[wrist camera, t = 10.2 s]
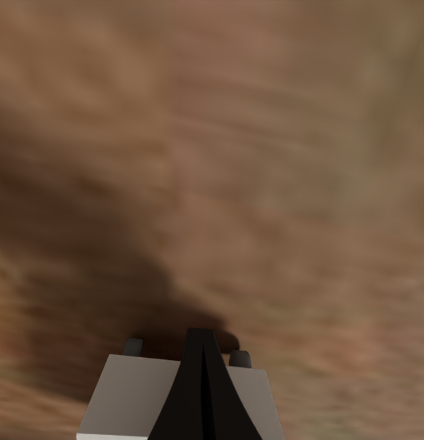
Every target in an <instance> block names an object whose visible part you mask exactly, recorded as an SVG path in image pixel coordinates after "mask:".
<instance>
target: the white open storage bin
mask: <svg viewBox="0 0 424 440" xmlns="http://www.w3.org/2000/svg"><path fill="white" fill-rule="evenodd" d="M142 345H143V339H134V338H128V339H127V342H126V344H125V347H124V350H123V353H122V355H113V354H109V357H108V359H107V361H106V364H105V366H104V369H103V371H102V374H101V376H100V378H99V381H98V383H97V386H96V388H95V390H94V393H93V395H92V398H91V400H90V402H89V405H88V407H87V410H86V412H85V414H84V417H83V419H82V422H81V424H80V426H79V429H78V431H77V440H147V439H148V437H149V435H150V433H151V431H152V429H153V427H154V424H155V422H156V420H157V418H158V416H159V414H160V412H161V410H162V407H163V405H164V403H165V401H166V399H167V396H168V394H169V391H170V389H171V387H172V384H173V381H174V379H175V376H176V374H177V371H178V368H179V365H180V361H172V360H163V359H153V358H143V357H140V355H141V350H142ZM226 368H227V370H228V373H229V375H230V378H231V380H232V382H233V384H234V387H235V389H236V391H237V393H238V395H239V397H240V399H241V401H242V403H243V405H244V407H245V409H246V411H247V413H248V415H249V417H250V418H251V420H252V422H253V424H254V425H255V427H256V429H257V431H258V433H259V434H260V436H261V437H262V439H263V440H285V438H284V435H283V431H282V428H281V424H280V421H279V417H278V414H277V410H276V406H275V403H274V399H273V396H272V392H271V389H270V385H269V382H268V378H267V375H266V371H265V370H261V369H252V368H251V359H250V356H249V353H248V352H247V351H240V350H232V352H231V354H230V359H229V366H226Z"/></svg>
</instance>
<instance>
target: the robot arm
mask: <svg viewBox="0 0 424 440" xmlns="http://www.w3.org/2000/svg"><path fill="white" fill-rule="evenodd" d="M147 440H263V439H262V437H261V436H260V434H259V433H258V431H257V429H256V427H255V425H254V424H253V422H252V420H251V418H250V417H249V415H248V413H247V411H246V409H245V407H244V405H243V403H242V401H241V399H240V397H239V395H238V393H237V391H236V389H235V387H234V384H233V382H232V380H231V378H230V375H229V373H228V370H227V368H226V365H225V363H224V360H223V358H222V355H221V352H220V349H219V346H218V343H217V340H216V337H215V333H214V331H213V330H208V329H200V328H192V327H190V328H188V330H187V334H186V338H185V342H184V346H183V350H182V354H181V361H180V365H179V368H178V371H177V374H176V376H175V379H174V381H173V384H172V387H171V389H170V391H169V394H168V396H167V399H166V401H165V403H164V405H163V407H162V410H161V412H160V414H159V416H158V418H157V420H156V422H155V424H154V427H153V429H152V431H151V433H150V435H149V437H148V439H147Z"/></svg>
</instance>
